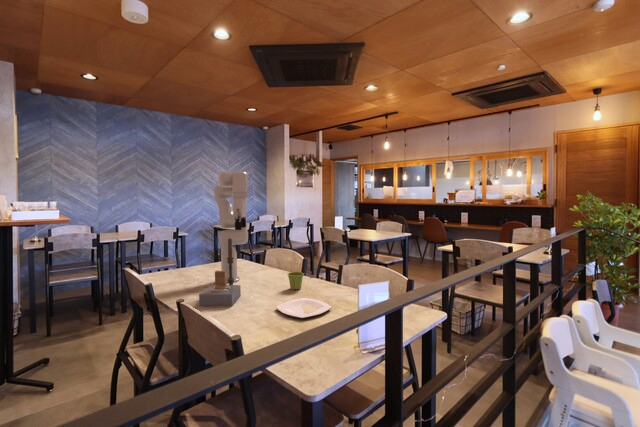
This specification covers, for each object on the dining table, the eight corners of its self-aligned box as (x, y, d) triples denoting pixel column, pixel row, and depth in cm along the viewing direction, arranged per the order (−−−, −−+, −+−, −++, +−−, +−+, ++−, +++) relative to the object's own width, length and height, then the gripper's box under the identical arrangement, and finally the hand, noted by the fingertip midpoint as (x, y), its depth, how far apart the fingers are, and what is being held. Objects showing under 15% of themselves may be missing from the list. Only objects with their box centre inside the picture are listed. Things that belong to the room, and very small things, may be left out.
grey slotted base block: (210, 296, 180) (210, 283, 180) (240, 296, 180) (240, 283, 179) (199, 306, 164) (199, 293, 164) (232, 306, 164) (231, 293, 163)
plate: (269, 310, 159) (269, 306, 159) (305, 299, 175) (305, 295, 175) (301, 324, 143) (301, 320, 143) (338, 310, 159) (338, 306, 159)
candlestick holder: (224, 293, 184) (223, 239, 181) (221, 289, 192) (219, 237, 190) (241, 291, 188) (240, 237, 186) (237, 287, 196) (236, 235, 194)
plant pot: (284, 289, 191) (284, 274, 190) (293, 285, 199) (293, 271, 199) (298, 292, 187) (298, 276, 186) (306, 287, 195) (306, 272, 194)
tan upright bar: (217, 297, 173) (216, 270, 172) (226, 297, 173) (226, 270, 172) (215, 299, 170) (214, 271, 169) (225, 299, 170) (224, 271, 169)
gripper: (237, 195, 183) (237, 226, 185) (227, 196, 166) (228, 230, 167) (251, 195, 183) (251, 226, 185) (243, 196, 166) (243, 230, 167)
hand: (240, 228), depth 176 cm, fingers open, 9 cm apart
